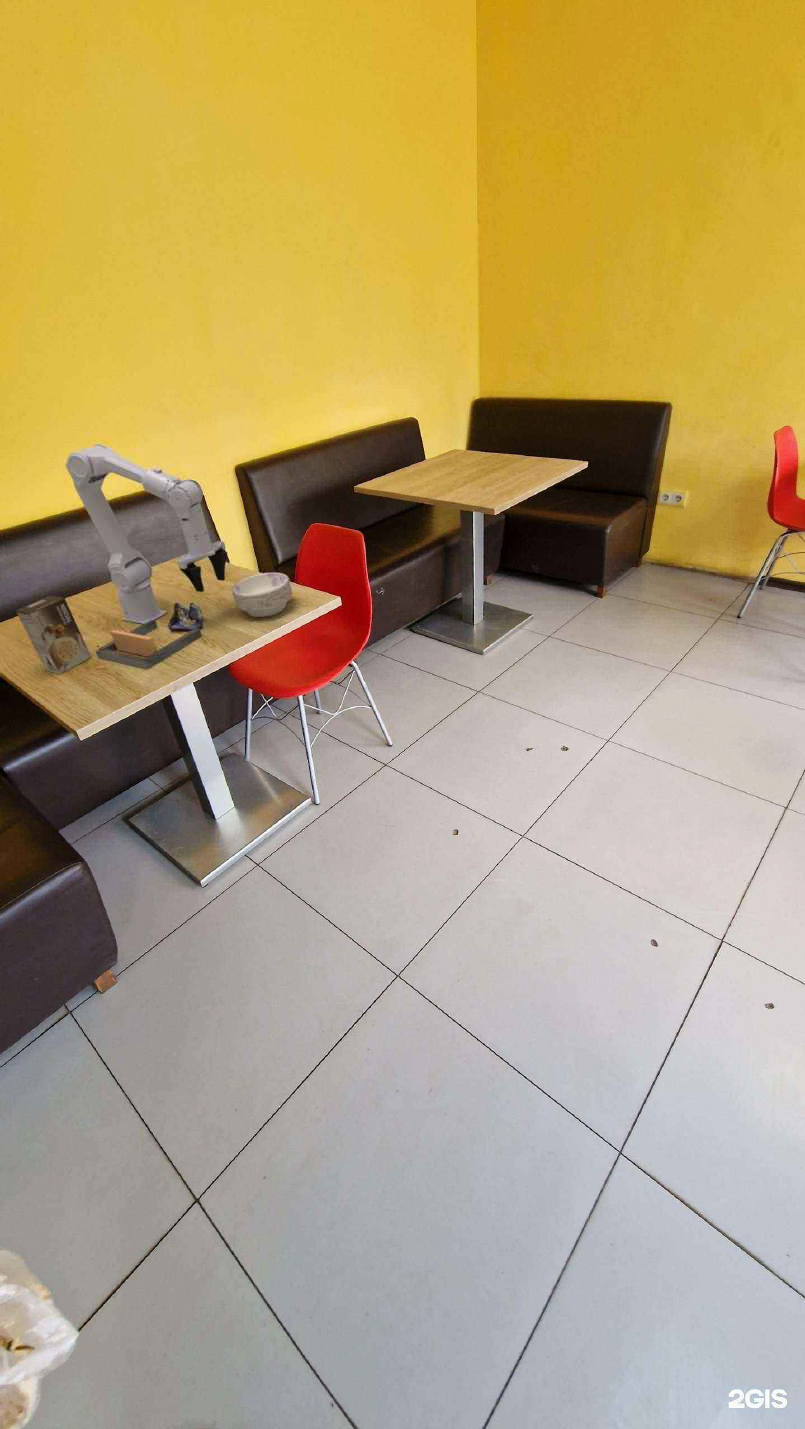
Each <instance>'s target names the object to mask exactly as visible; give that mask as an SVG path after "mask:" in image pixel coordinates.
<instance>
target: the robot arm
mask: <svg viewBox="0 0 805 1429" xmlns="http://www.w3.org/2000/svg"><path fill="white" fill-rule="evenodd" d="M65 468H66V470H67V472H68V473H69V475H70V477H71V479H72V481H73V485H74V488H75V491H76V493H77V495H78V497H79V498H80V500H81V502H82V504H83V506H84V508H85V510H86V512H87V513H88V515H89V517H90V519H91V521H92V522H93V524H94V527H95V528H96V530H97V532H98V534H99V535H100V537H101V540H102V541H103V544H104V545H105V547H106V549H107V551H108V552H109V555H110V559H109V561H108V564H107V569H108V570H109V573H110V577H111V582H112V583H113V585H114V587H116V588H117V589H118V591H117V598H118V602H119V603H120V607H121V609H122V612H123V615H124V617H123V618H122V620H123V621H125V622H132V623H136V624H141V625H143V624H145V623H146V622H148V621H150V620H155V621H156V619H159V618H160V617H162V616H164V615H166V614H167V613H168V610H164V609H160V608H159V604H158V601H157V599H156V596H155V593H154V590H153V586H152V584H151V582H152V579H151V577H152V576H153V568H152V566H151V564H150V562H149V561H148V560H147V559H146V558H145V557H144V555H143V554H142V552H141V551H139V550H136V549H134V548H132V546H131V545H130V542H129V540H128V538H127V537H126V535H125V533H124V530H123V529H122V527H121V525H120V523H119V521H118V519H117V518H116V516H115V514H114V511H113V509H112V508H111V506H110V504H109V502H108V499H107V498H106V496H105V494H104V492H103V490H102V486H103V483H104V481H105V479H106V477H107V476H108V475H109V474H111V473H113V474H115V475H118V476H119V477H123V478H126V479H128V480H131V481H134V482H136V483H138V484H141V485H142V487H143V489H144V491H145V492H147V493H149V494H151V495H154V496H155V497H158V498H160V499H163V500H164V501H167V502H168V503H169V505H170V507H171V508H172V509H174V511H175V513H176V516H177V517H178V519H179V522H180V526H181V530H182V532H183V537H184V539H185V543H186V547H187V549H188V552H187V553H186V554H185V555H184V556H182V557H181V558H179V559H177V560H176V563H177V566H178V569H179V570H180V572H182V573H183V574H184V575H185V576H186V578H187V579H188V580H189V581H190V583H191V585H192V586H193V587H194V590H195V591H196V592H198V593H204V591H205V587H204V582H203V581H202V580H203V579H202V566H199V565H196V564H195V563H197V562H199V561H201V560H203V559H206V558H207V557H208V560H209V561H210V564H211V565H212V566H211V567H212V568H213V571H214V574H215V577H216V579H217V580H218V581H223V582H224V581H225V580H226V573H225V572H226V562H227V558H228V555H229V554H228V551H225V550H226V544H225V541H223V540H222V541H220V540H218V541H215V542H211V538H210V534H209V530H208V527H207V523H206V520H205V516H204V512H203V508H202V505H201V502H202V500H203V495H204V494H203V491H202V488H201V486H200V485H199V484H198V483H197V482H195V481H194V480H192V479H191V478H187V479H184V480H183V479H180V477H178V476H173V475H171V474H168V473H166V472H164V471H163V469H162V468H160V467H152V468H151V467H150V468H149V469H145V468H144V467H142V466H140V465H139V464H136V463H134V462H133V461H130V460H128V459H127V458H125V457H123V456H121V455H119V454H117V453H116V452H115V450H114V449H113V448H112V447H107V446H106V445H104V444H101V443H100V444H95V445H93V446H90V447H87V448H85V449H81V450H78V451H73V452H71V453H70V454H69V455H68V456H67V459H66V463H65Z"/></svg>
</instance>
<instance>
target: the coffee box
mask: <svg viewBox="0 0 805 1429" xmlns="http://www.w3.org/2000/svg"><path fill="white" fill-rule="evenodd" d="M15 612H16V614H17V616H18V618H19V620H20V621H21V624H22V626H23V628H24V631H25V632H26V634H27V635H28V636H27V637H28V638H29V640H30V642H31V644H32V646H33V648H34V650H35V652H36V653H37V656H38V658H39V660H40V663H41V664H42V666H43V668H44V670H45V671H48V672H51V673H54V674H57V675H61V674H63V673H66V672H67V671H68V670H70V669H73V668H74V667H76V666H78V665H80V664H81V663H83V662H85V661H87V660H89V659H92V656H91V653H90V651H89V649H88V647H87V644H86V642H85V640H84V638H83V636H82V634H81V632H80V629H79V627H78V624H77V623H76V620H75V617H74V616H73V614H72V611H71V609H70V607H69V605H68V602H67V600H66V598H64V597H61V596H55V595H48V596H46V597H44V598H41V599H39V600H35V601H34V602H32V603H29V604H27V605H24V606H23V607H20V608H18V609H16V610H15Z"/></svg>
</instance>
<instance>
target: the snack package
mask: <svg viewBox="0 0 805 1429" xmlns="http://www.w3.org/2000/svg"><path fill="white" fill-rule="evenodd" d="M188 604H189V602H187V604H186V605H188ZM173 609H174V610H173V613H172V616H171V618H170V619H169V622H168V625H167V627H168V629H169V630H170V632H171V631H174V630H181V629H182V630H183V631H185V632H190V631H192V630H193V629H195V628H198V629H200V630H202V629H203V624H202V619H203V610H202V608H201V607H200V605H198V604H196V603H194V602H191V603H190V604H189V608H188V607H186V606H183V605H182V604H180V603H178V602H175V603H174V604H173ZM190 621H191V622H193V623H192V624H189V625H188V622H190Z"/></svg>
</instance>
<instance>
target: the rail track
mask: <svg viewBox="0 0 805 1429" xmlns="http://www.w3.org/2000/svg"><path fill="white" fill-rule="evenodd" d="M156 629H158V624H157V621H156V619H155V620H150V621H148V622H146V623H145V624H141V625H140V626H137V627H136V628H133V629H132V630H130V631H128V633H133V634H138V635H143V636H146V635H147V634H148V633H150V632H152V631H153V630H156ZM202 634H203V633H202V631H201V629H198V628H195V629H193V630H192V631H187V633H185V634H183V635H182V636H180V637H178V638H177V639H175V640H173V641H171V642H170V643H168V644H167V645H165V646H163V647H161V648H160V649H157V651H156V652H155V653H153V654H151V655H150V656H148V657H147V656H145V658H144V657H140V656H136V655H133V654H129V653H128V654H127V653H123V652H119V651H118V650H117V648H116V645H115V643H114V640H112V641H110V642H108V643H106V644H104V645H103V646H101V647H98V649H97V650H95V653H96V656H97V658H98V659H103V660H107V661H111V662H114V663H115V662H116V663H119V664H122V665H123V664H124V665H128V666H130V667H131V666H132V667H136V668H139V669H144V670H149V669H151V668H153V667H154V666H155V665H157V664H159V663H161V662H162V661H164V660H166V659H167V658H169V657H170V656H172V655H173V654H175V653H177V652H178V651H180V650H181V649H183V648H185V647H186V646H188V645H190V644H192V643H193V642H194V641H196V640H198V639H200V638H202V636H203V635H202Z"/></svg>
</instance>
